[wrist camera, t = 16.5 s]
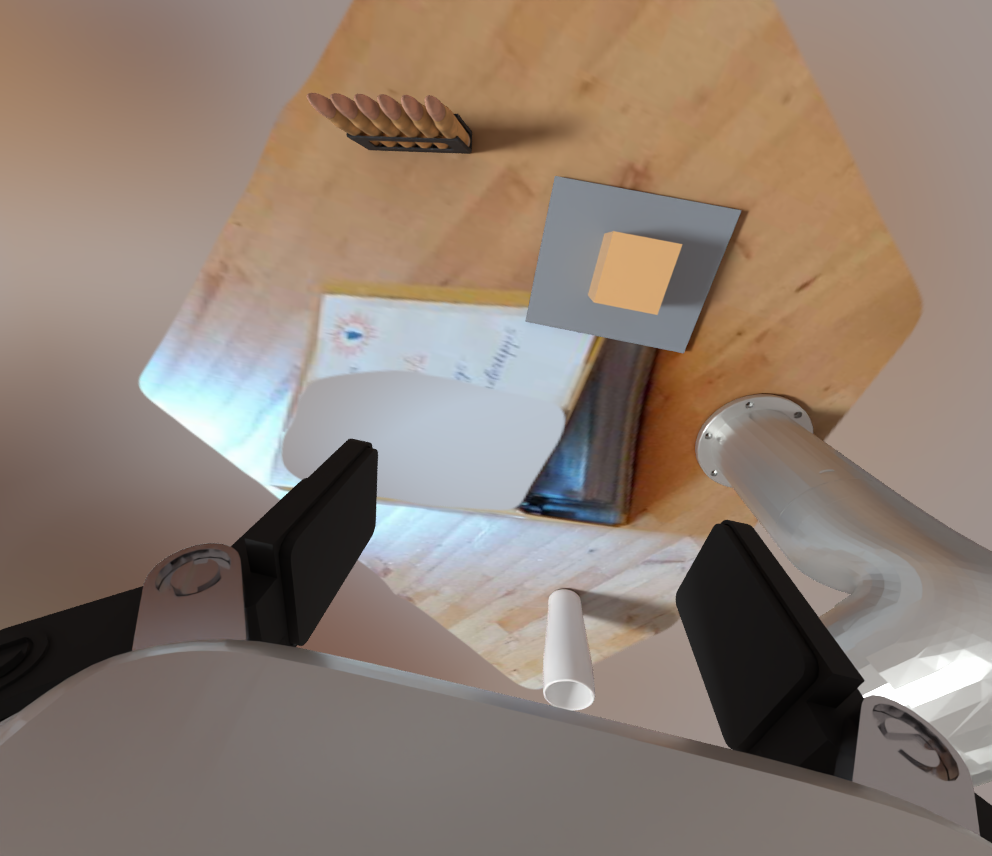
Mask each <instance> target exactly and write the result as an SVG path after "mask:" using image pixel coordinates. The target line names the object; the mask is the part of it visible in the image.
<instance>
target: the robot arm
mask: <svg viewBox="0 0 992 856" xmlns="http://www.w3.org/2000/svg"><path fill="white" fill-rule="evenodd" d="M695 452H696V458H697V460H698V463H699V465H700V467H701V468H702V469H703V471H704V472H705V473H706V475H707V476H708V477H709V478H711V479H712V480H714V481H715V482H717V483H719V484H722V485H724V486H727V487H732V488H733V489H734V490H735V491H736V492H737V494H738V495H739V496H740V498H741V499H742V500H743V502H744V503H745V504H746V505H747V507H748V508H749V509H750V511H751V512H752V513H753V515H754V516H755V517H756V519H757V520H758V521H759V522H760V524H761V525H762V526H763V528H764V529H765V530H766V532H767V533H768V534H769V535H770V537H771V538H772V539H773V541H774V542H775V543H776V544H777V546H778V547H779V548H780V550H781V551H782V552H783V553H784V554H785V556H786V557H787V559H788V560H789V561H790V562H791V563H792V564H793V565H794V566H795V567H796V568H797V569H798V570H800V571H801V572H802V573H803V574H805V575H807V576H808V577H810V578H811V579H813V580H815V581H817V582H819V583H821V584H823V585H826V586H828V587H830V588H833V589H836V590H839V591H842V592H845V593H848V594H851V595H849V596H848V597H847V598H845V599H844V600H842V601H841V602H839V603H838V604H836V605H835V607H834V608H833V609H831V610H830V611H828V612H826V613H825V614H823V615H822V616H820V617H818V616H817V614H816V613H815V612H814V610H813V609H812V608H811V606H810V605H809V604H808V602H807V601H806V599H805V598H804V597H803V595H802V594H801V592H800V591H799V590H798V589H797V587H796V586H795V584H794V583H793V582H792V580H791V579H790V577H789V576H788V575H787V573H786V572H785V571H784V569H783V568H782V566H781V565H780V564H779V562H778V561H777V560H776V558H775V557H774V556H773V554H772V553H771V552H770V550H769V549H768V547H767V546H766V545H765V543H764V542H763V540H762V539H761V538H760V536H759V535H758V534H757V532H756V531H755V530H754V528H753V527H752V526H751V525H748V524H744V523H739V522H735V521H730V520H724V521H723V522H721V524H716V525H715V526H714V527H713V528H712V530H711V532H710V534H709V536H708V537H707V539H706V541H705V543H704V544H703V546H702V548H701V550H700V552H699V553H698V555H697V557H696V559H695V561H694V562H693V564H692V566H691V568H690V569H689V571H688V573H687V575H686V577H685V578H684V580H683V582H682V584H681V585H680V587H679V589H678V591H677V593H676V605H677V609H678V611H679V614H680V617H681V620H682V622H683V625H684V628H685V631H686V633H687V637H688V639H689V642H690V645H691V647H692V651H693V653H694V656H695V659H696V662H697V665H698V667H699V670H700V673H701V675H702V678H703V681H704V684H705V687H706V690H707V692H708V695H709V698H710V701H711V704H712V706H713V709H714V712H715V715H716V718H717V721H718V723H719V726H720V729H721V732H722V735H723V737H724V740H725V742H726V744H727V745H728V747H730V748H731V749H733V750H731V749H727V748H723V747H719V746H715V745H711V744H707V743H702V742H699V741H694V740H691V739H686V738H683V737H679V736H674V735H670V734H666V733H662V732H658V731H654V730H650V729H646V728H642V727H638V726H633V725H630V724H625V723H621V722H617V721H613V720H609V719H605V718H601V717H596V716H592V715H588V714H584V713H580V712H575V711H571V710H567V709H563V708H559V707H555V706H551V705H546V704H542V703H538V702H533V701H530V700H525V699H521V698H517V697H512V696H509V695H504V694H500V693H496V692H492V691H488V690H483V689H479V688H475V687H470V686H466V685H462V684H458V683H453V682H449V681H445V680H441V679H436V678H432V677H427V676H423V675H419V674H415V673H411V672H406V671H402V670H397V669H393V668H389V667H385V666H380V665H376V664H372V663H367V662H363V661H358V660H353V659H349V658H344V657H339V656H335V655H330V654H325V653H321V652H315V651H311V650H307V649H302V648H297V647H296V646H297V645H299V646H303V645H304V644H305V643H306V642H307V641H308V639H309V638H310V636H311V634H312V633H313V631H314V630H315V628H316V626H317V624H318V623H319V621H320V620H321V618H322V617H323V615H324V613H325V612H326V610H327V608H328V607H329V605H330V603H331V602H332V600H333V599H334V597H335V595H336V594H337V592H338V590H339V589H340V587H341V585H342V584H343V582H344V581H345V579H346V577H347V576H348V574H349V573H350V571H351V569H352V568H353V566H354V564H355V563H356V561H357V560H358V558H359V556H360V555H361V553H362V551H363V550H364V548H365V547H366V545H367V543H368V542H369V540H370V538H371V537H372V535H373V532H374V529H375V524H376V497H377V466H378V452H377V450H376V449H373V448H372V444H371V443H369V442H365V441H360V440H355V439H348V441H346V442H345V443H344V444H343V445H342V446H341V447H340V448H339V449H338V450H337V451H336V452H335V453H334V454H332V455H331V456H330V457H329V458H328V459H327V460H326V461H325V462H324V463H323V464H322V465H321V466H320V467H319V468H318V469H317V470H316V471H315V472H314V473H313V474H311V475H310V476H309V477H308V478H305V479H303V480H302V481H300V482H299V483H298V484H297V485H296V486H295V487H294V488H293V489H292V490H291V491H290V492H288V493H287V494H286V495H285V496H284V497H283V498H282V499H281V500H280V501H279V502H278V503H277V504H276V505H275V506H274V507H273V508H271V509H270V510H269V511H268V512H267V513H266V514H265V515H264V516H263V517H262V518H261V519H260V520H259V521H258V522H257V523H255V525H253V526H252V527H251V528H250V529H249V530H248V531H247V532H246V533H245V534H244V535H243V536H242V537H241V538H239V539H238V540H237V541H236V542H235V543H234V544H233V545H232V546H228V545H224V544H217V543H207V544H200V545H195V546H191V547H188V548H185V549H182V550H180V551H178V552H176V553H174V554H172V555H170V556H168V557H167V558H165V559H164V560H162V561H161V562H160V563H158V564H157V565H156V566H155V567H154V568H153V569H152V570H151V571H150V572H149V574H148V575H147V577H146V580H145V582H144V585H143V586H142V587H139V588H136V589H133V590H129V591H126V592H123V593H119V594H116V595H112V596H110V597H106V598H103V599H99V600H96V601H93V602H90V603H86V604H83V605H80V606H76V607H74V608H70V609H67V610H64V611H60V612H57V613H54V614H50V615H47V616H44V617H41V618H37V619H34V620H31V621H27V622H24V623H21V624H18V625H15V626H11V627H8V628H5V629H2V630H0V856H992V805H990V804H989V803H987V802H986V801H985V800H984V799H982V798H981V797H980V796H978V795H977V794H976V793H974V788H973V787H975V786H979V785H981V784H984V783H988V782H990V781H992V551H990V550H988V549H986V548H984V547H982V546H980V545H979V544H977V543H975V542H974V541H972V540H970V539H968V538H967V537H965V536H963V535H961V534H960V533H958V532H956V531H954V530H953V529H951V528H949V527H948V526H946V525H945V524H943V523H942V522H940V521H938V520H937V519H935V518H934V517H932V516H931V515H929V514H928V513H926V512H924V511H923V510H922V509H920V508H919V507H917V506H915V505H914V504H912V503H911V502H910V501H908V500H907V499H905V498H904V497H902V496H901V495H899V494H898V493H896V492H895V491H894V490H892V489H891V488H889V487H888V486H886V485H885V484H884V483H882V482H880V481H879V480H878V479H876V478H875V477H874V476H872V475H871V474H869V473H868V472H866V471H865V470H864V469H862V468H861V467H859V466H858V465H856V464H855V463H854V462H852V461H851V460H849V459H848V458H847V457H845V456H844V455H842V454H841V453H839V452H838V451H836V450H835V449H833V448H832V447H831V446H829V445H828V444H827V443H825V442H824V441H822V440H821V439H819V438H818V437H817V436H815V435H814V434H813V426H812V422H811V419H810V418H809V416H808V414H807V413H806V411H804V410H803V409H802V408H801V407H800V406H799V405H797V404H796V403H794V402H793V401H791V400H789V399H786V398H784V397H782V396H777V395H772V394H756V395H749V396H745V397H742V398H738V399H736V400H734V401H731V402H729V403H727V404H725V405H724V406H722V407H721V408H719V409H718V410H717V411H715V412H714V413H713V414H712V415H711V416H710V417H709V418H708V419H707V421H706V422H705V423H704V424H703V426H702V428H701V430H700V431H699V433H698V436H697V440H696V447H695Z"/></svg>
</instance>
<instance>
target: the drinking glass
mask: <svg viewBox="0 0 992 856" xmlns="http://www.w3.org/2000/svg"><path fill="white" fill-rule="evenodd" d="M543 694H544V697H545V699H546V700H547V701H548V702H549V703H550V704H552V705H553V706H555V707H559V708H563V709H567V710H581V709H584V708H587V707H588V706H590V705H591V704H592V703H593V701H594V699H595V688H594V675H593V667H592V660H591V655H590V650H589V644H588V639H587V634H586V629H585V624H584V618H583V613H582V604H581V599H580V597H579V596H578V595H577V594H576V593H575V592H573V591H571V590H568V589H560V590H556V591H554V592H553V593H552V594H551V595H550V596H549V599H548V617H547V627H546V637H545V647H544V658H543Z"/></svg>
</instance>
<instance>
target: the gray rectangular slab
mask: <svg viewBox="0 0 992 856" xmlns="http://www.w3.org/2000/svg"><path fill="white" fill-rule="evenodd" d="M741 211H742V210H737V209H731V208H726V207H720V206H715V205H709V204H704V203H699V202H693V201H688V200H682V199H677V198H672V197H666V196H661V195H655V194H650V193H644V192H639V191H634V190H628V189H623V188H617V187H612V186H606V185H601V184H596V183H590V182H585V181H579V180H574V179H568V178H563V177H558V176H555V179H554V184H553V189H552V194H551V198H550V203H549V208H548V213H547V218H546V223H545V228H544V233H543V238H542V243H541V248H540V253H539V258H538V263H537V268H536V272H535V277H534V282H533V287H532V292H531V297H530V302H529V307H528V312H527V317H526V322H530V323H535V324H540V325H545V326H550V327H555V328H560V329H565V330H570V331H575V332H580V333H585V334H590V335H595V336H600V337H605V338H610V339H615V340H620V341H625V342H630V343H635V344H640V345H645V346H650V347H655V348H660V349H665V350H670V351H675V352H680V353H684V351H685V349H686V346H687V344H688V341H689V339H690V336H691V334H692V331H693V329H694V326H695V324H696V322H697V319H698V317H699V314H700V312H701V309H702V307H703V304H704V302H705V299H706V297H707V294H708V292H709V289H710V287H711V285H712V282H713V280H714V277H715V275H716V272H717V270H718V267H719V265H720V262H721V260H722V257H723V255H724V252H725V250H726V248H727V245H728V243H729V240H730V238H731V235H732V233H733V230H734V228H735V225H736V223H737V220H738V218H739V215H740V213H741ZM612 231H615V232H621V233H626V234H631V235H636V236H642V237H647V238H652V239H657V240H663V241H668V242H673V243H679V244H683V245H682V247H681V250H680V253H679V256H678V259H677V261H676V264H675V267H674V270H673V273H672V275H671V278H670V281H669V284H668V287H667V289H666V292H665V295H664V298H663V301H662V303H661V306H660V309H659V312H658V315H655V314H650V313H645V312H640V311H635V310H630V309H624V308H619V307H614V306H609V305H604V304H599V303H594V302H593V301H592V300H591V299H590V297H589V296H588V293H589V289H590V285H591V281H592V278H593V274H594V270H595V267H596V263H597V259H598V255H599V252H600V248H601V244H602V241H603V237H604V234H605V233H609V232H612Z"/></svg>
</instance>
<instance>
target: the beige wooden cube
mask: <svg viewBox="0 0 992 856" xmlns="http://www.w3.org/2000/svg"><path fill="white" fill-rule="evenodd" d="M682 245H683V244H679V243H673V242H668V241H663V240H657V239H652V238H647V237H642V236H636V235H631V234H626V233H621V232H615V231H612V232H609V233H605V234H604V237H603V241H602V244H601V248H600V252H599V255H598V259H597V263H596V267H595V270H594V274H593V278H592V281H591V285H590V289H589V293H588V296H589V297H590V299H591V300H592V301H593V302H594V303H599V304H604V305H609V306H614V307H619V308H624V309H630V310H635V311H640V312H645V313H650V314H655V315H658V312H659V309H660V306H661V303H662V301H663V298H664V295H665V292H666V289H667V287H668V284H669V281H670V278H671V275H672V273H673V270H674V267H675V264H676V261H677V259H678V256H679V253H680V250H681V247H682Z"/></svg>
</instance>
